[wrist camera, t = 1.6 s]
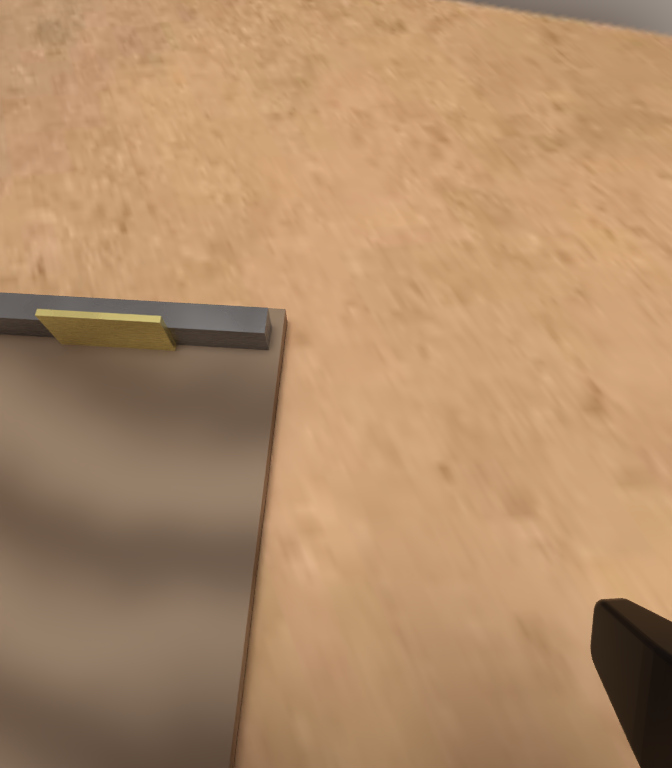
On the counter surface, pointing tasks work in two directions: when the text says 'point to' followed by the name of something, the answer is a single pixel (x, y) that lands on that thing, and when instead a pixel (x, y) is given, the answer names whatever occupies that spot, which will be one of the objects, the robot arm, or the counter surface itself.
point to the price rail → (134, 322)
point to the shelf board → (129, 548)
